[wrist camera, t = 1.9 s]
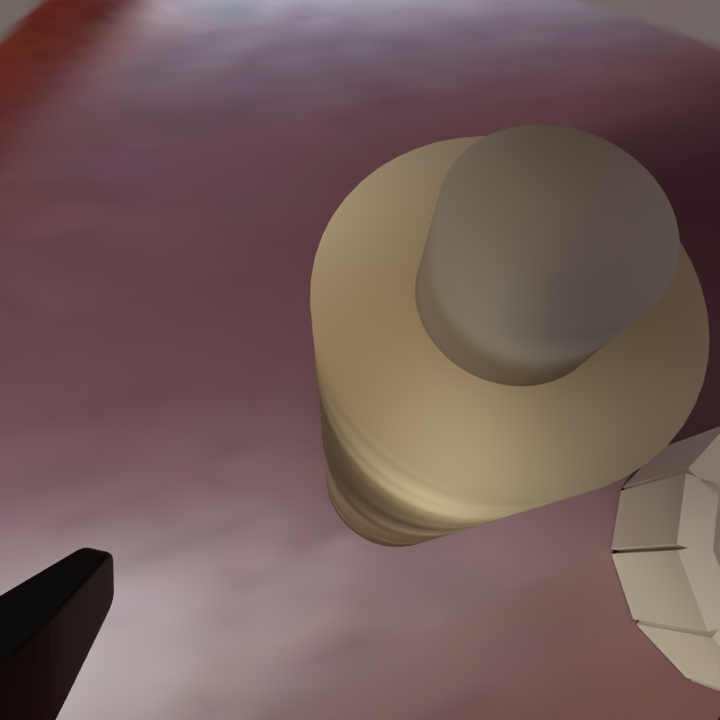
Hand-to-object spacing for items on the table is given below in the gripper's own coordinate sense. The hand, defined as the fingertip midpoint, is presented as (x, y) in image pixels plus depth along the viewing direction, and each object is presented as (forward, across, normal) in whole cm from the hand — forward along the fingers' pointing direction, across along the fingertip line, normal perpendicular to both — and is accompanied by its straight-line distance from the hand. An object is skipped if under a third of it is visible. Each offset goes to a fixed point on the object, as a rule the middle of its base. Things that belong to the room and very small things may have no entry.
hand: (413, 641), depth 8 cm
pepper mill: (+11, 0, +5) cm, 12 cm away
